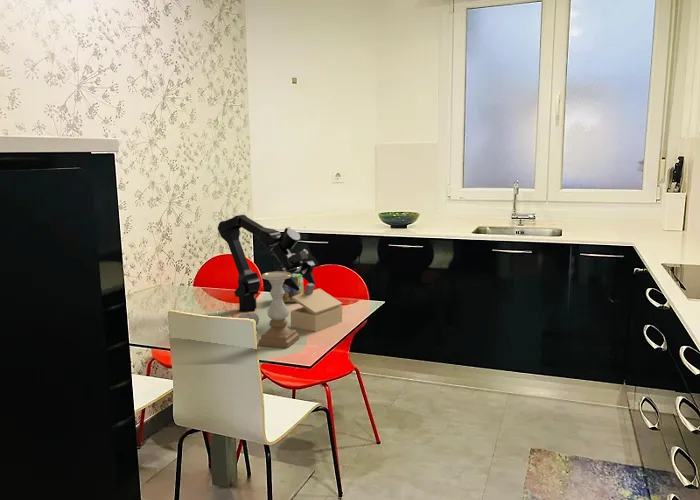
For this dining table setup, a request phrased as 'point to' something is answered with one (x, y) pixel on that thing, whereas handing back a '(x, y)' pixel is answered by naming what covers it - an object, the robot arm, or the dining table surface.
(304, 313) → the wooden box
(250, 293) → the robot arm
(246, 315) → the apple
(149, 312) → the dining table surface
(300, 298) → the lid
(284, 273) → the candle holder
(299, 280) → the chalk box
